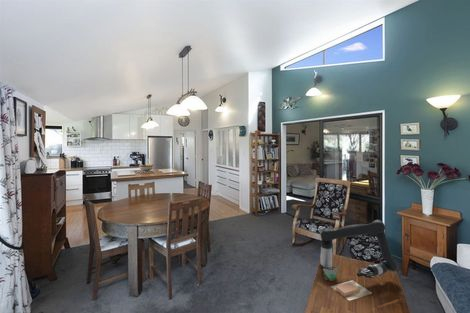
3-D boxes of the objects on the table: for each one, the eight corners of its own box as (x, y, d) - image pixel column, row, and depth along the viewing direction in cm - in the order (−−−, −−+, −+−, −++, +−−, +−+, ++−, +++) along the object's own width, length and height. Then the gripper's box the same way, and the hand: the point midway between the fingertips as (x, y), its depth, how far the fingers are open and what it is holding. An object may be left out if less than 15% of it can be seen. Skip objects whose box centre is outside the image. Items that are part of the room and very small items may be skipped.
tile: (349, 285, 185) (335, 289, 180) (349, 282, 185) (335, 286, 180) (359, 292, 177) (344, 296, 172) (359, 288, 177) (345, 293, 172)
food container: (327, 284, 190) (327, 271, 189) (323, 279, 196) (323, 267, 195) (341, 282, 192) (341, 269, 191) (336, 277, 198) (336, 266, 197)
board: (330, 288, 184) (330, 286, 184) (352, 281, 192) (352, 280, 192) (349, 302, 168) (349, 300, 167) (372, 294, 175) (372, 293, 175)
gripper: (367, 261, 193) (350, 265, 187) (382, 269, 181) (365, 274, 175) (367, 270, 194) (350, 275, 188) (382, 279, 181) (365, 284, 175)
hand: (357, 274), depth 181 cm, fingers closed
